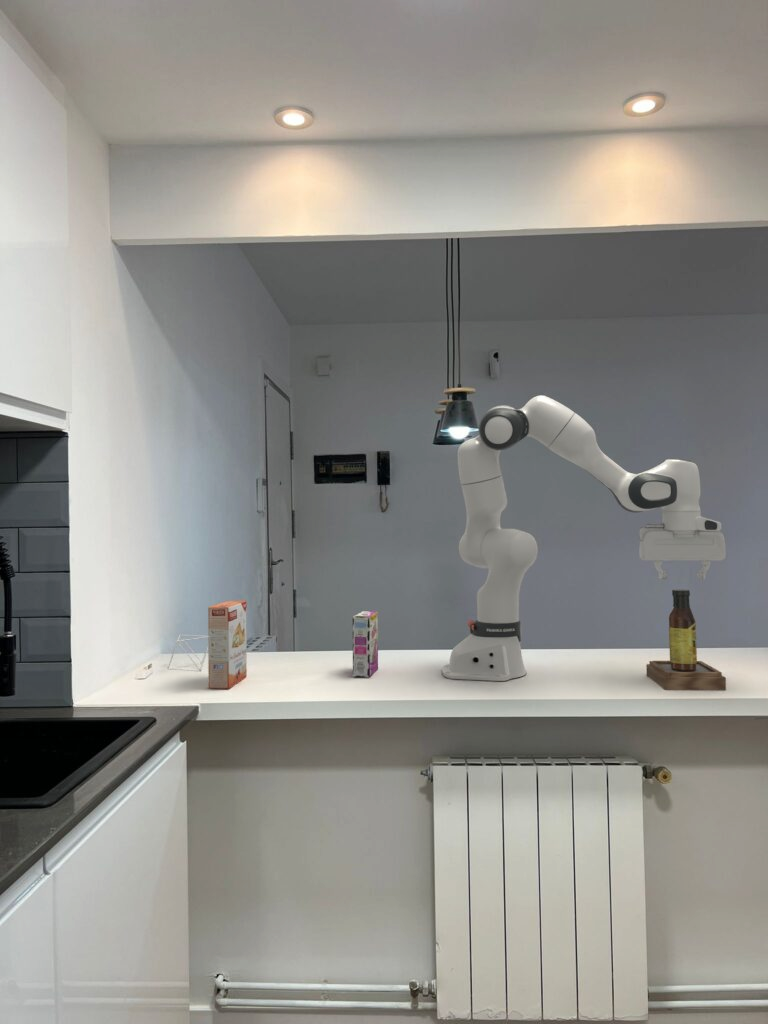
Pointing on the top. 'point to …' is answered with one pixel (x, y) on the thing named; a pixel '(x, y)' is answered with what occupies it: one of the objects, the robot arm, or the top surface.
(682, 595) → the sauce bottle
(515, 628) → the robot arm
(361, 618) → the candy bar box
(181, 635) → the geometric polyhedron
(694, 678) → the tray
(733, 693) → the top surface
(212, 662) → the cracker box
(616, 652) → the top surface
